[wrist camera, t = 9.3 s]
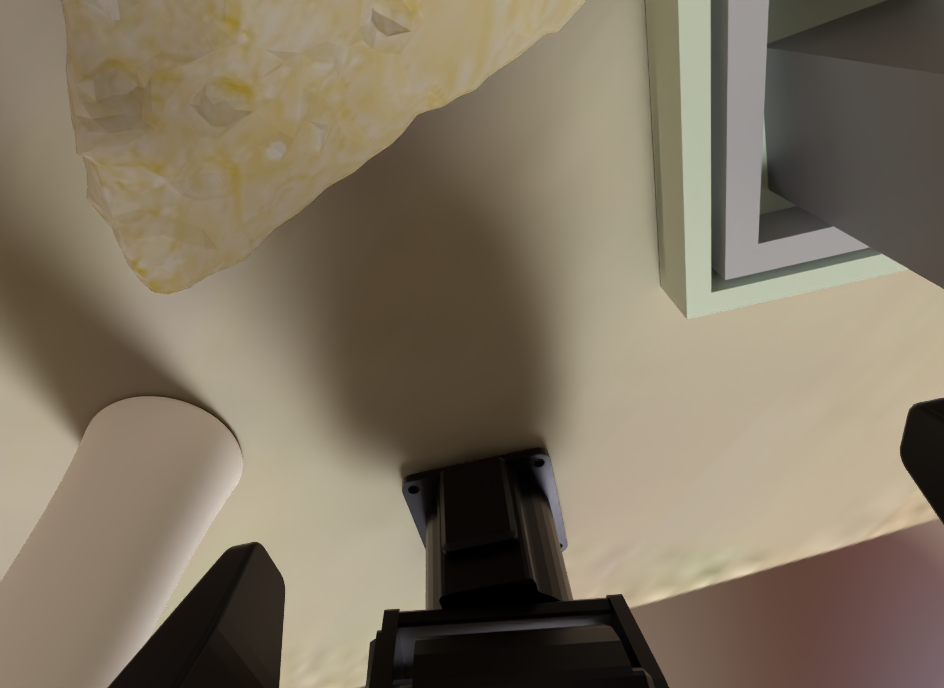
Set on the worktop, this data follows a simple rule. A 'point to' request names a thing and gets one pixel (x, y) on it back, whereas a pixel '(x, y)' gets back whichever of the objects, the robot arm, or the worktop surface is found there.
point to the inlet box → (734, 161)
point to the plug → (864, 128)
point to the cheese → (260, 107)
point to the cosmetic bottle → (113, 542)
